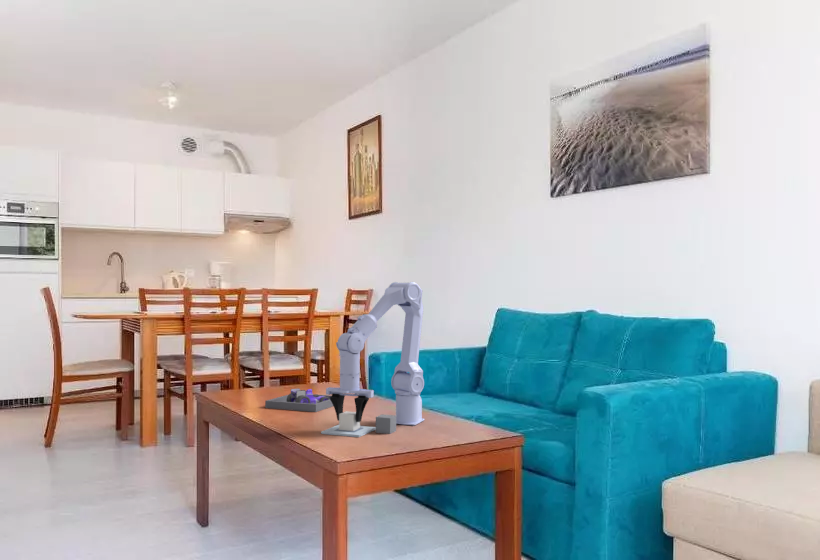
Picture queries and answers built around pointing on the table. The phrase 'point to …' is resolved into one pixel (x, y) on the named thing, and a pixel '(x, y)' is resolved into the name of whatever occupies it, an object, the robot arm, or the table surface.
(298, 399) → the toy race car
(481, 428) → the table surface
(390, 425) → the charcoal block
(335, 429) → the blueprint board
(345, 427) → the cream block
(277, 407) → the car parking frame
